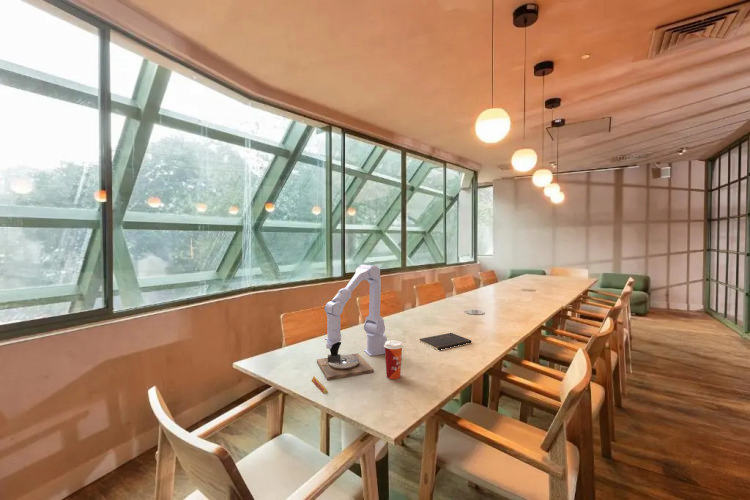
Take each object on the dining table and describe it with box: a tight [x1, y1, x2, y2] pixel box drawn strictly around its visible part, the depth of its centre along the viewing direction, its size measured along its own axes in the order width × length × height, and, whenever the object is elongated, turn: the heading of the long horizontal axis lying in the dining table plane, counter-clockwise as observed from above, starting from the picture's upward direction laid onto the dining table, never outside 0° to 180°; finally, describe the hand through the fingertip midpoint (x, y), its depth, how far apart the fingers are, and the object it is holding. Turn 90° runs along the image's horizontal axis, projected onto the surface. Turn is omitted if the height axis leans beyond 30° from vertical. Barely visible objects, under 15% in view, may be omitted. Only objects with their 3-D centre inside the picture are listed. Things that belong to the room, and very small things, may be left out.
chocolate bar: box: [311, 375, 329, 394], centre depth 122 cm, size 3×12×2 cm, turn 32°
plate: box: [316, 353, 374, 381], centre depth 140 cm, size 20×20×1 cm
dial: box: [327, 353, 359, 370], centre depth 140 cm, size 13×14×4 cm
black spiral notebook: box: [419, 332, 472, 351], centre depth 172 cm, size 16×23×2 cm
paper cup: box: [384, 339, 404, 380], centre depth 130 cm, size 8×8×14 cm
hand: (334, 358), depth 141 cm, fingers closed, pressing on dial
